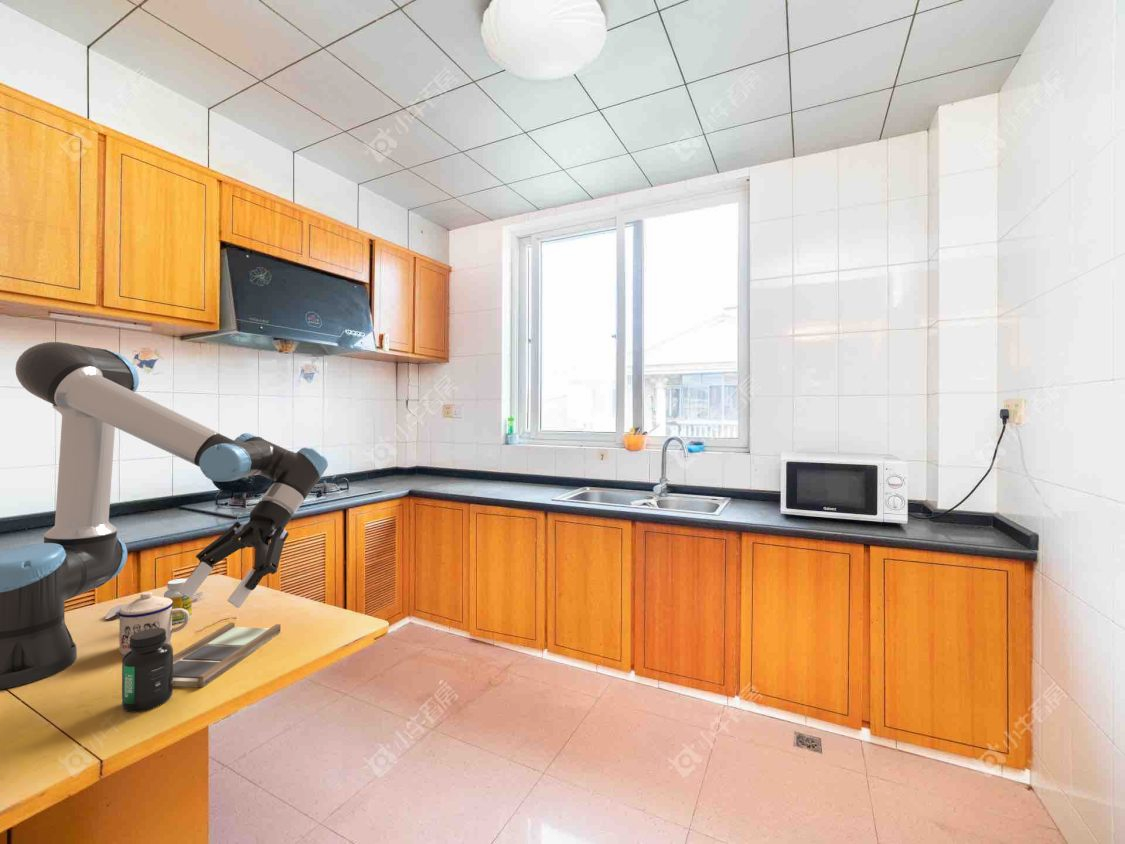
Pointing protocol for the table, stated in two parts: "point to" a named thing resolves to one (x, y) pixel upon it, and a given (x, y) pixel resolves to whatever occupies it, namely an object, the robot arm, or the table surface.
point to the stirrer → (117, 608)
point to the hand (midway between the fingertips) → (207, 599)
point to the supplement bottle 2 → (178, 600)
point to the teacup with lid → (147, 618)
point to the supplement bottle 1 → (147, 671)
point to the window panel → (218, 653)
